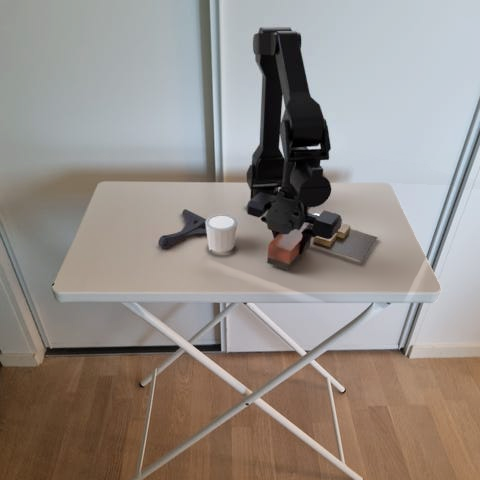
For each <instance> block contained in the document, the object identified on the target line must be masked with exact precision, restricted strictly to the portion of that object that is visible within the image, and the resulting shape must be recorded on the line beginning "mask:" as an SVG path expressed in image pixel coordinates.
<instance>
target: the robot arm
mask: <svg viewBox="0 0 480 480" xmlns="http://www.w3.org/2000/svg"><path fill="white" fill-rule="evenodd" d="M252 52H253V54H254V56H255V57H254V60H255V63H256V65H257V67H258V69H259V71H260V73H261V99H260V123H259V124H260V125H259V143H258V146H256V149H255V151H253V153H252V156H251V164H249V167H248V168H247V171H246V183H247V186H248V189H249V190H250V196H249V197H250V199H249V200H248V202H247V205H246V213H247V215H249V216H253V217H256V218H258V219H259V218H260V221H261V222H264V223H265V224H266V226H267V229H268V230H269V231H271V234H272V236H273V239H274V238H275V237H276V236H277V235H278V234H279V233H281V234H284V235H286V234H289V233H290V232H291V231H293V230H294V229H296V230H300V229H301V227H302V226H303V224H304V222H305V223H307V224H306V226H307V227H306V228H305V229H304V230H303V231H302V232H301V234H302V240H301V245H300V250H299V254H300V255H301V254H302V253H303V252H304V250H305V248H306V247H307V245H308V243H309V241H310V240H311V238H312V237H316V236H319V237H322V238H325V239H331V238H332V237H333V236H334V235H335V234H336V232H337V231H338V230H339V229H340V227H341V223H343V219H342V216H341V214H338V213H335V212H332V211H329V210H326V209H325V210H323V211H322V212H321V213H315V212H314V213H310V212H309V211H310V209H311V208H317V207H320V206H322V205H324V203H326V202H327V200H329V198H330V196H331V194H332V185H331V182H330V180H329V178H328V177H327V176H326V175H325V173H324V168H323V166H322V165H321V161H329V160H330V151H331V149H332V146H331V139H330V133H329V126H328V123H327V120H326V118H325V117H324V114H323V113H324V112H323V111H322V107H321V105H320V103H319V102H317V101H316V100H315V99H314V98H313V97H312V95H311V93H310V87H309V83H308V78H307V73H306V69H305V62H304V57H303V53H302V35H301V32H298V31H296V30H292V28H291V26H270V27H269V26H268V27H267V26H264V27H263V26H262V27H261V26H260V27H259V29H258V32H257V33H254V34H253V38H252ZM283 103H284V111H283V115H282V110H283ZM280 143H281V147H282V151H281V149H280ZM319 146H320V148H313V147H319ZM311 147H312V148H311ZM304 253H305V252H304ZM304 253H303V254H304ZM303 254H302V255H303ZM302 255H301V256H302Z"/></svg>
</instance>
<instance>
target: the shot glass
mask: <svg viewBox="0 0 480 480" xmlns="http://www.w3.org/2000/svg"><path fill="white" fill-rule="evenodd" d="M205 219H206V221H205V224H206V228H205V229H206V231H207V234H206V238H207V245H208V246H207V247H208V251H211V250H212V251H214V252H217V253H225V252H230V251H231V250H233V249H234V247H235V242H236V237H237V228H238V227H237V226H238V220H237V219H236V218H235V217H234V216H232V215H229V214H223V213H220V214H219V213H217V214H213V215H210V216H209V217H207V218H205Z"/></svg>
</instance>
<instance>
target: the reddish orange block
mask: <svg viewBox="0 0 480 480" xmlns="http://www.w3.org/2000/svg"><path fill="white" fill-rule="evenodd" d="M306 227H307V226H306V225H304V224H303V226H302V227H301V229H300V230H296V229H294V230H293V231H291V232H290V233H289V234H286V235H284V234H281V233H279V234H278V235H277V236H276V237H275V238H274V237H273V239H272V240H271V241H270V242H269V243H268V247H267V258H266V263H267V264H268V265H272V266H274V267H278V268H280V269H283V270H286V271H290V270H291V268H292V267H293V266H294V265H295V264H296V263H297V262H298V260H299V259H300V258H301V257H302V256H303V254H304V253H305V252H306V251H307V250H308V249H309V247H310V246H311V244H310V243H311V240H310V241H309V243H308V245H307V247H306V248H305V250H304V252H303V253H302V254H301V255H300V254H299V250H300V245H301V240H302V234H301V232H302V231H303V230H304V229H305V228H306Z"/></svg>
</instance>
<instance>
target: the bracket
mask: <svg viewBox="0 0 480 480" xmlns="http://www.w3.org/2000/svg"><path fill="white" fill-rule="evenodd" d="M181 213H182V217H183V219H184V221H185V225H184V227H183V228H182V229H181V230H180V231H177V232H174V233H170V234H165V235H161V236H160V238H159V239H158V242H157V245H158V246H159V247H160V248H162V249H164V250H165V249H169V248H170V247H172V246H174V245H176V244H178V243H179V242H182V241H183V240H185V239H187V238H189V237H191V236H194V235H207V231H206V224H205V221H206V219H207V218H204V217H202V216H201V215H198V214H196V213H195V212H192V211H190V210H189V209H186V208H185V209H183V210H182V212H181Z"/></svg>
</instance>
